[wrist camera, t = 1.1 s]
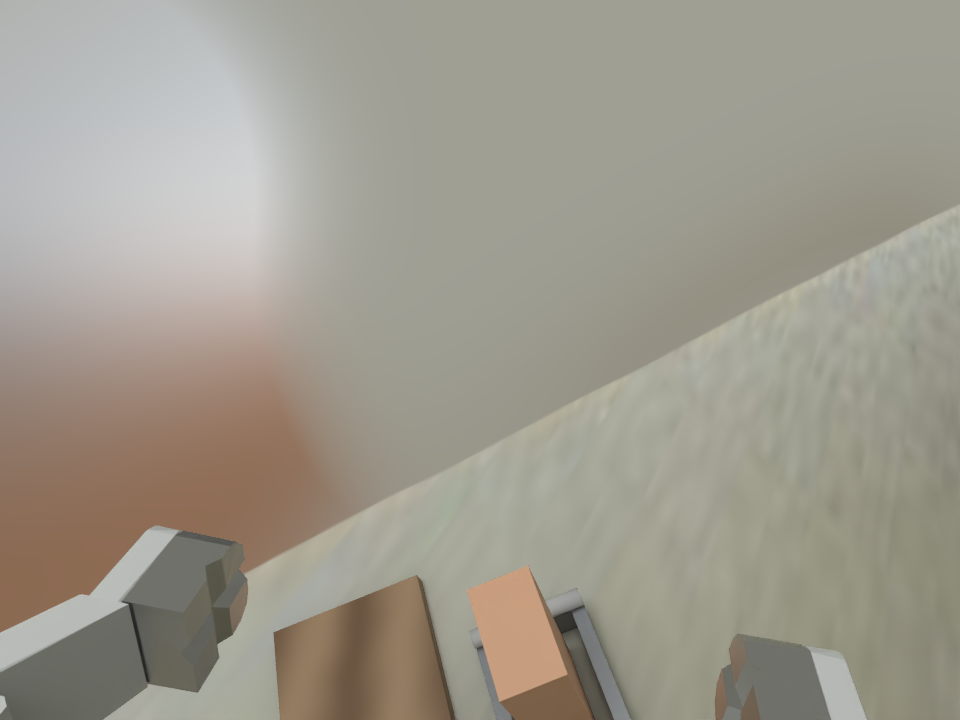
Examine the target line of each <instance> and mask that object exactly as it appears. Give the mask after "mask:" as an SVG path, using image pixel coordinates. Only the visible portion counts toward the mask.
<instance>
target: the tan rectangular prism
mask: <svg viewBox="0 0 960 720" xmlns="http://www.w3.org/2000/svg"><path fill="white" fill-rule="evenodd" d="M467 591H468V595H469V598H470V602H471V605H472V609H473V612H474V616H475V619H476V623H477V626H478V630H479V633H480V636H481V640H482V643H483V647H484V650H485V654H486V657H487V661H488V664H489V668H490V671H491V675H492V678H493V681H494V685H495V688H496V692H497V695H498V699H499V702H500V703H501V704H502V705H503V706H504V708H505V709H506V710H507V711H508V712H509V713H510V714H511V716H512V717H513V718H514V719H515V720H595V719H594V716H593V713H592V711H591V708H590V705H589V703H588V700H587V697H586V695H585V692H584V689H583V687H582V684H581V681H580V679H579V676H578V673H577V671H576V668H575V665H574V663H573V660H572V657H571V655H570V652H569V649H568V647H567V645H566V643H565V641H564V639H563V637H562V635H561V633H560V631H559V629H558V627H557V625H556V622H555V620H554V618H553V616H552V614H551V612H550V610H549V608H548V606H547V604H546V602H545V600H544V598H543V596H542V594H541V591H540V589H539V587H538V585H537V583H536V581H535V579H534V577H533V575H532V573H531V571H530V569H529V567H528V566H526V567H524V568H521V569H519V570H516V571H514V572H511V573H509V574H506V575H504V576H501V577H499V578H496V579H494V580H491V581H489V582H486V583H484V584H481V585H479V586H476V587H474V588H471V589H469V590H467Z"/></svg>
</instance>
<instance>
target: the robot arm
mask: <svg viewBox="0 0 960 720" xmlns="http://www.w3.org/2000/svg"><path fill="white" fill-rule="evenodd" d="M244 560H245V557H244V552H243V545H242V544H240V543H238V542H235V541H230V540H225V539H220V538H216V537H211V536H206V535H202V534H197V533H192V532H187V531H180V530H175V529H170V528H166V527H161V526H155V527H152V528H150V529H148V530H147V531H146V532H145V533H144V534H143V535H142V536H141V537H140V538H139V540H138V541H137V542H136V543H135V544H134V545H133V546H132V548H131V549H130V550H129V551H128V552H127V553H126V554H125V555H124V557H123V558H122V559H121V560H120V561H119V562H118V564H116V566H115V567H114V568H113V569H112V570H111V571H110V572H109V574H108V575H107V576H106V577H105V578H104V579H103V580H102V582H101V583H100V584H99V585H98V586H97V587H96V588H95V590H94V591H93V592H92V593H91V594H90V595H89V596H87V595H81V594H80V595H78V596H76V597H74V598H72V599H70V600H68V601H66V602H64V603H61V604H59V605H57V606H55V607H53V608H51V609H49V610H47V611H45V612H43V613H41V614H39V615H37V616H34V617H32V618H30V619H28V620H26V621H24V622H22V623H20V624H18V625H16V626H14V627H12V628H10V629H7V630H5V631H3V632H1V633H0V720H103V719H104V718H106V717H107V716H108V715H110V714H111V713H112V712H114V711H115V710H117V709H118V708H119V707H121V706H122V705H123V704H125V703H126V702H128V701H129V700H130V699H132V698H133V697H134V696H136V695H137V694H139V693H140V692H141V691H143V690H144V689H145V688H147V686H148V685H147V684H152V685H158V686H164V687H169V688H175V689H180V690H186V691H191V692H197V693H198V692H199V690H200V688H201V687H202V685H203V683H204V682H205V680H206V678H207V677H208V675H209V674H210V672H211V670H212V669H213V667H214V665H215V664H216V662H217V660H218V659H219V654H218V647H217V644H218V643H220V642H222V641H223V640H225V639H227V638H228V637H230V636H232V635H233V633H234V631H235V630H236V628H237V626H238V624H239V623H240V621H241V618H242V615H243V612H244V609H245V606H246V603H247V595H248V583H247V578H246V577H245V576H244V574H243V573H242V572H241V571H240V570H239V567H240V566H241V564H242V563H243V561H244ZM729 653H730V659H731V664H730V665H728V666H726V667H724V668H723V669H722V670H721V673H720V676H719V679H718V682H717V688H716V697H715V716H716V720H867V717H866V714H865V712H864V709H863V706H862V704H861V701H860V698H859V695H858V693H857V690H856V687H855V685H854V682H853V679H852V676H851V674H850V671H849V668H848V666H847V663H846V660H845V658H844V657H843V655H842V654H841V653H840V652H839V651H833V650H828V649H822V648H816V647H811V646H802V645H801V644H795V643H789V642H783V641H778V640H772V639H766V638H760V637H754V636H749V635H743V634H737V635H736V636H735V637H734V638H733V640H732V643H731V646H730V648H729Z"/></svg>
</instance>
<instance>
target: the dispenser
mask: <svg viewBox="0 0 960 720" xmlns="http://www.w3.org/2000/svg"><path fill="white" fill-rule="evenodd" d="M545 602H546V604H547V606H548V608H549V610H550V612H551V614H552V616H553V618H554V620H555V622H556V625H557V627H558V629H559V631H560V633H562V632H565V631H567V630H570V629H572V628H575V627H578V629H579V632H580V634H581V637H582V639H583V642H584V645H585V647H586V650H587V652H588V655H589V657H590V660H591V662H592V665H593V667H594V670H595V673H596V675H597V678H598V680H599V683H600V685H601V688H602V690H603V693H604V695H605V698H606V701H607V703H608V706H609V708H610V711H611V713H612V716H613V718H614V720H631V719H630V716H629V714H628V711H627V709H626V706H625V704H624V701H623V699H622V697H621V694H620V692H619V689H618V687H617V684H616V682H615V679H614V677H613V675H612V672H611V670H610V667H609V665H608V662H607V660H606V657H605V655H604V653H603V650H602V648H601V645H600V643H599V640H598V638H597V635H596V633H595V631H594V628H593V626H592V623H591V621H590V618H589V616H588V613H587V611H586V609H585V606H584V603H583V601H582V598H581V596H580V593H579V591H578V589H577V588H575V589H573V590H570V591H568V592H565V593H563V594H560V595H558V596H555V597H553V598H550V599H548V600H545ZM469 632H470V637H471V640H472V643H473V645H474V647H475V649H476V648H477V652H478V655H479V659H480V662H481V666H482V669H483V673H484V676H485V680H486V684H487V687H488V691H489V694H490V698H491V701H492V705H493V708H494V712H495V716H496V719H497V720H515V719H514V718H513V717H512V716H511V714H510V713H509V712H508V711H507V710H506V709H505V708H504V706H503V705H502V704H501V703H500V702H499V699H498V695H497V692H496V688H495V685H494V681H493V678H492V675H491V671H490V668H489V664H488V661H487V657H486V654H485V650H484V647H483V643H482V640H481V636H480V633H479V630H478V628H475V629H473V630H470V631H469Z"/></svg>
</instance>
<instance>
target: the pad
mask: <svg viewBox="0 0 960 720" xmlns="http://www.w3.org/2000/svg"><path fill="white" fill-rule="evenodd" d="M274 643H275V657H276V670H277V683H278V696H279V709H280V720H455V717H454V713H453V709H452V705H451V701H450V696H449V692H448V688H447V684H446V680H445V676H444V672H443V668H442V663H441V659H440V655H439V651H438V647H437V643H436V639H435V634H434V630H433V626H432V622H431V618H430V614H429V610H428V606H427V601H426V597H425V593H424V589H423V585H422V581H421V580H420V579H419V577H418V576H417V575H416V576H413V577H411V578H408V579H406V580H403V581H401V582H398V583H396V584H393V585H391V586H389V587H386V588H384V589H381V590H379V591H376V592H374V593H371V594H369V595H366V596H364V597H361V598H359V599H356V600H354V601H351V602H349V603H346V604H344V605H341V606H339V607H336V608H334V609H331V610H329V611H326V612H324V613H321V614H319V615H316V616H314V617H311V618H309V619H306V620H304V621H301V622H299V623H296V624H294V625H291V626H289V627H286V628H284V629H281V630H279V631H276V632H274Z"/></svg>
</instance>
